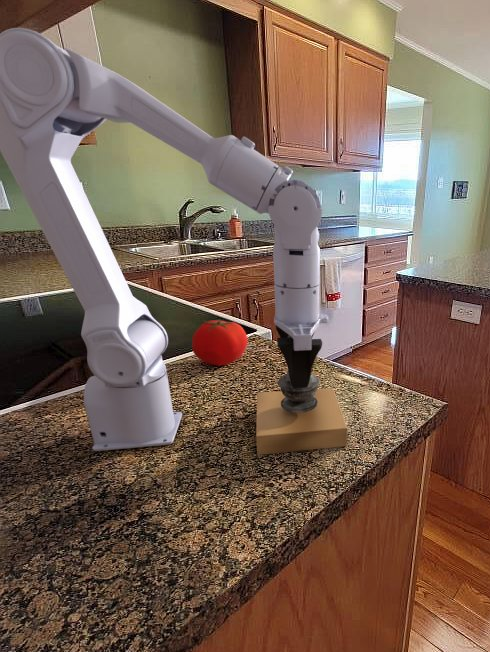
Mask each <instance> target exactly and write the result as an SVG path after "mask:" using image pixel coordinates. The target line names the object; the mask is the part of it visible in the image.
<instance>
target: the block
mask: <svg viewBox="0 0 490 652" xmlns="http://www.w3.org/2000/svg"><path fill="white" fill-rule="evenodd" d="M313 397H315V398H316V399H317V401H318V404H317V406H316V407H315V408H314V409H312V410H310V411H308V412H302V413H295V412H289V411H287V410H284V409H283V408H282V406H281V401H282V400H283V399H284V398H285V396H284V395H283V393H282V391H281V390H280V391H279V390H278V391H267V392H266V391H263V392H256V420H255V421H256V424H255V425H256V426H255V427H256V429H255V439H256V455H257V456H261V455H262V456H263V455H271V454H281V453H291V452H301V451H303V452H304V451H312V450H321V449H331V448H341V447H347V446H348V426H347V423H346V421H345V417H344V414H343V412H342V409H341V406H340V403H339V400H338V398H337V394H336V392H335V389H334V387H328V388H327V387H326V388H317V391H316V393H315V395H313Z"/></svg>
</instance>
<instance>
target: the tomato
mask: <svg viewBox="0 0 490 652" xmlns="http://www.w3.org/2000/svg"><path fill="white" fill-rule="evenodd" d="M203 322H204V323H202V324H201V325H200V326H199V327H198V328H197V329H196V330H195V332H194V334H193V335H192V340H191V349H192V353H193V355H195V357H196V358H198V359H199V360H200V361H202V362H203V363H205V364H207V365H212V366H217V367H219V366H225V365H230V364H232V363H233V362H235V361H237V360H239V358H241V356H243V354H244V353H245V352H246V349H247V346H248V342H249V341H248V339H249V338H248V336H247V333H246V331H245V330H244V328H243V327H242V326H241V325H240V324H238V323H236V322H235V321H226V320H225V321H224V320H221V319H218V320H217V319H215V320H208V321H206V320H203Z"/></svg>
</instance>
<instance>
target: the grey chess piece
mask: <svg viewBox="0 0 490 652" xmlns="http://www.w3.org/2000/svg"><path fill="white" fill-rule="evenodd" d="M288 337H291V336H290V335H288ZM320 383H321V380H320V378H319V377H318V376H316V375H315V374H313V373H311V377H310V381H309V385H308V387H304V388H293V387H292V385H291V381H290V377H289V372H288V371H287V372H286V374H284V375H282V376H280V378H279V379H278V380H277V384H278V385H277V386H278V387H279V388H280V389H279V390H280V391H282V393H283V395H284V396H285V398H284V399H283V400H282V401H281V406H282V408H283V409H284V410H287V411H289V412H295V413H302V412H308V411H310V410H312V409H314V408H315V407H316V406H317V404H318V401H317V399H316V398H315V397H313V395H315V393H316V391H317V389H319V388H318V387H319V386H320Z"/></svg>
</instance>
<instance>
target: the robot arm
mask: <svg viewBox="0 0 490 652" xmlns="http://www.w3.org/2000/svg"><path fill="white" fill-rule="evenodd" d="M107 120H108V121H111V122H113V123H116V124H132V125H134V126H136V127H137V128H139V129H141V130H142V131H144V132H146V133H148V134H149V135H151V136H152V137H155V138H156V139H157V140H159V141H161V142H163V143H165V144H166V145H168V146H170V147H172V148H174V149H175V150H177V151H179V153H182V154H183V155H185V156H186V157H189V158H190V159H192V160H194V161H196V162H197V163H199V164H200V165H201V166H202V168H203V171H204V172H205V173H204V174H205V176H206V178H207V181H208V183H209V184H210V185H212V186H213V187H215V188H216V189H219V190H220V191H221V192H223V193H224V194H227V195H228V196H229V197H231V198H233V199H235V200H237V201H238V202H239V203H241V204H243V205H244V206H247V207H248V208H250V209H251V210H253V211H254V212H256V213H257V214H260V215H262V214H268V216H269V218H270V221H271V222H272V224H273V230H274V232H273V233H274V234H273V235H274V244H273V246H272V260H273V263H272V264H273V289H274V312H275V315H274V316H273V324H275V330H276V332H277V334H278V335H279V337H276V344H277V347H278V350H279V351H280V353H281V354H282V356H283V358H284V360H285V362H286V367H287V372H289V377H290V381H291V385H292V387H293V388H304V387H308V385H309V381H310V377H311V374H312V372H313V367H314V364H315V361H316V358H317V356H318V355H319V352H320V351H321V350H322V346H323V340H322V338H313V337H314V335H315V332H316V330H317V329H318V328H319V326H320V325H321V324H327V323H329V316H328V314H326V313H320V290H321V289H320V286H321V285H320V283H321V276H320V275H321V248H320V246H319V240H320V232H319V228H318V226H319V224H320V222H321V219H322V216H323V209H322V207H321V201H320V198H319V197H318V194H317V192H316V191H315V190H314V189H313V188H312V186H310V185H308V184H307V183H306V182H305V181H304V180H302V179H295V178H294V179H291V177H292V175H293V173H294V171H293V169H292V168H290V167H289V166H287V165H284V167H281V166H280V165H278V164H276V163H275V162H274V161H272V160H271V159H269V158H268V157H266V156H265V155H264V154H261V153H260V152H259V151H257V150H256V149H255V147H256V144H255V142H254V141H252V140H251V139H249V138H248V137H246V136H242V137H241V139H239V138H238V137H236V136H235V135H233V134H228V135H224V136H220V137H213V136H211V134H209V133H207V132H205V131H204V130H202V129H201V128H200V127H198V126H197V125H195V124H194V123H193V122H191V121H190V120H188V119H187V118H185V117H184V116H182V115H181V114H180V113H178V112H177V111H176V110H174V109H173V108H171V107H170V106H168V105H167V104H165V103H164V102H162V101H160V99H158V98H157V97H155V96H153V95H152V94H151V93H149V92H148V91H146V90H145V89H143V88H142V87H140V86H138V84H136V83H134V82H132V80H129V79H128V78H126V77H124V76H123V75H121V74H119V73H117V72H115V71H113V70H111V69H109V68H107V67H106V66H104V65H101V64H99V63H97V62H95V61H94V60H92V59H90V58H88V57H85V56H84V55H81V54H79V53H77V52H75V51H74V50H71V49H69V48H67V47H65V48H62V47H60V46H58V45H57V44H56V43H54V42H53V41H52V40H51V39H49V38H48V37H46V36H45V35H43V34H42V33H39V32H37V31H35V30H33V29H30V28H26V27H11V28H8V29H5V30H4V31H2V32H0V153H1V155H2V157H3V160H4V161H5V163H6V165H7V167H8V168H9V170H10V172H11V174H12V176H13V178H14V179H15V181H16V183H17V185H18V188H19V189H20V191H21V193H22V195H23V197H24V199H25V200H26V202H27V204H28V206H29V209H30V210H31V212H32V213H33V216H34V218H35V219H36V221H37V223H38V226H39V227H40V229H41V231H42V232H43V235H44V237H45V238H46V240H47V242H48V244H49V246H50V248H51V250H52V251H53V254H54V255H55V258H56V259H57V261H58V264H59V265H60V267H61V269H62V271H63V273H64V275H65V276H66V278H67V280H68V282H69V284H70V286H71V288H72V290H73V291H74V293H75V296H76V297H77V299H78V301H79V303H80V305H81V306H82V309H83V311H84V317H83V322H82V325H81V326H82V327H81V330H80V331H81V333H80V336H81V338H82V340H83V342H84V344H85V347H86V351H87V353H86V355H87V357H86V360H87V365H88V368H89V370H90V371H91V373H92V374H93V375H91V376H90V377H89V378H88V379H87V381H86V383H85V385H84V390H83V404H84V411H85V413H86V418H87V421H88V426H89V429H90V433H91V436H92V440H93V446H92V451H94V452H101V451H102V452H103V451H112V450H113V451H115V450H124V449H135V448H136V449H137V448H145V447H147V448H148V447H159V446H167V445H168V446H169V445H172V444H174V440H175V439H176V434H177V432H178V429H179V427H180V423H181V420H182V418H183V412H182V411H174V409H173V402H172V396H171V390H170V384H169V377H168V371H167V366H166V364H165V362H164V360H163V356H162V355H163V354H164V353H165V352H166V350H167V347H168V345H169V337H168V333H167V331H166V329H165V328H164V327H163V325H162V324H161V323H160V322H159V321H157V320H156V319H155V317H153V316H152V314H151V312H150V311H149V308H148V306H147V305H146V304H145V303H144V302H142V301H141V300H139V299H138V298H136V297H135V296H133V293H132V291H131V289H130V287H129V284H128V282H127V280H126V278H125V276H124V274H123V271H122V270H121V268H120V266H119V263H118V261H117V259H116V257H115V255H114V252H113V250H112V248H111V246H110V244H109V241H108V239H107V237H106V235H105V233H104V230H103V229H102V227H101V224H100V223H99V220H98V218H97V215H96V214H95V211H94V210H93V208H92V205H91V203H90V200H89V199H88V197H87V195H86V192H85V190H84V188H83V186H82V184H81V181H80V179H79V177H78V175H77V173H76V171H75V169H74V166H73V164H72V157H73V156H74V154H75V152H76V151H77V149H78V147H79V145H80V144H81V142H82V140H83V139H84V138H85V137H86V136H88V135H89V134H91V133H92V132H93V131H95V130H96V129H97V128H99V127H101V125H103V124H104V123H105V122H106V121H107ZM288 335H290V336H291V337H288Z"/></svg>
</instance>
